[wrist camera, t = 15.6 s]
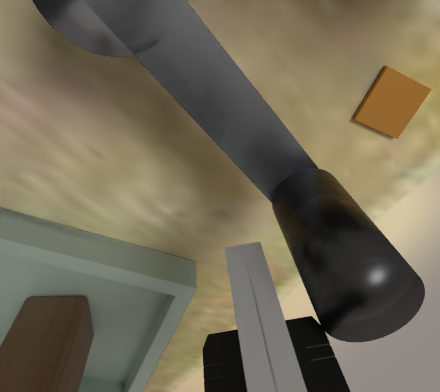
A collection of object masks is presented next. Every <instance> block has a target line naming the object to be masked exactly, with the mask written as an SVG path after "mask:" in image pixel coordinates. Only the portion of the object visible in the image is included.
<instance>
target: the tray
mask: <svg viewBox="0 0 440 392" xmlns="http://www.w3.org/2000/svg"><path fill="white" fill-rule="evenodd" d="M196 289H197V285H196V262H195V261H191V260H187V259H184V258H180V257H177V256H173V255H169V254H166V253H162V252H159V251H155V250H151V249H148V248H144V247H141V246H137V245H133V244H130V243H126V242H123V241H119V240H115V239H112V238H108V237H105V236H101V235H97V234H94V233H90V232H87V231H83V230H79V229H76V228H72V227H69V226H65V225H61V224H58V223H54V222H51V221H47V220H43V219H40V218H36V217H33V216H29V215H25V214H22V213H18V212H15V211H11V210H7V209H4V208H0V346H1V344H2V342H3V340H4V338H5V337H6V335H7V333H8V331H9V329H10V327H11V326H12V324H13V322H14V320H15V318H16V316H17V315H18V313H19V311H20V309H21V307H22V305H23V304H24V302H25V300H26V299H27V298H29V297H32V296H85V297H87V298H88V302H89V308H90V314H91V319H92V325H93V331H94V337H93V340H92V344H91V348H90V351H89V355H88V358H87V362H86V365H85V369H84V373H83V376H82V380H81V383H80V387H79V390H78V392H143V390H144V388H145V386H146V384H147V382H148V380H149V379H150V377H151V375H152V373H153V371H154V369H155V367H156V365H157V363H158V361H159V359H160V357H161V356H162V354H163V352H164V350H165V348H166V346H167V344H168V342H169V340H170V338H171V336H172V335H173V333H174V331H175V329H176V327H177V325H178V323H179V321H180V319H181V317H182V315H183V313H184V312H185V310H186V308H187V306H188V304H189V302H190V300H191V298H192V296H193V294H194V292H195V291H196Z"/></svg>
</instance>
